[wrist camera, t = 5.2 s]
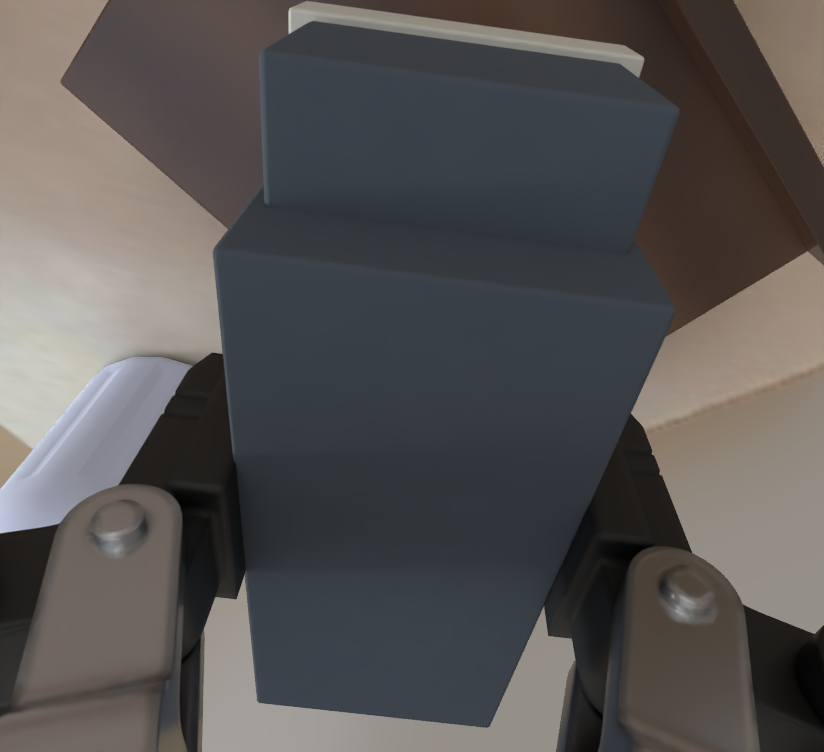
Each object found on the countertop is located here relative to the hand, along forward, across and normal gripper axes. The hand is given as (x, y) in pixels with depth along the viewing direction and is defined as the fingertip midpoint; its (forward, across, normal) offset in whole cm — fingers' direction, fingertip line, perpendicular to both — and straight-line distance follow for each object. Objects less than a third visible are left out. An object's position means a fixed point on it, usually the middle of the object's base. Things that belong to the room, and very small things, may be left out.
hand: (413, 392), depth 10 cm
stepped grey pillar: (+1, 0, 0) cm, 1 cm away
